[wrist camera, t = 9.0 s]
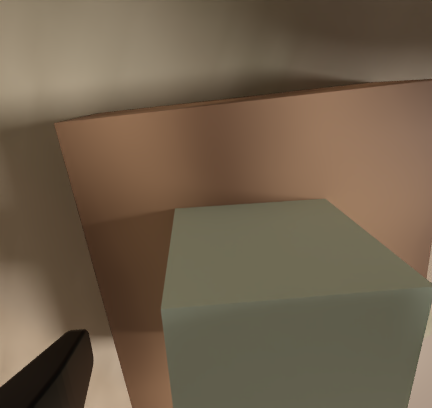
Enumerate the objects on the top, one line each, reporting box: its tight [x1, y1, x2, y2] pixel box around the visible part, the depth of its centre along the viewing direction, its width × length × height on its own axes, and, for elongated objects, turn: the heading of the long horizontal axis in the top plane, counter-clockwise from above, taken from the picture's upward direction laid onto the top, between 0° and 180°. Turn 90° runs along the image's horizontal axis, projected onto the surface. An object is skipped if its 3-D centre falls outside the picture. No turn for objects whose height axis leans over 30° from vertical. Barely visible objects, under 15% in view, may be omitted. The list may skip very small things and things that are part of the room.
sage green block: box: [161, 199, 432, 408], centre depth 9 cm, size 5×5×5 cm
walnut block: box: [54, 79, 432, 408], centre depth 14 cm, size 12×12×5 cm
